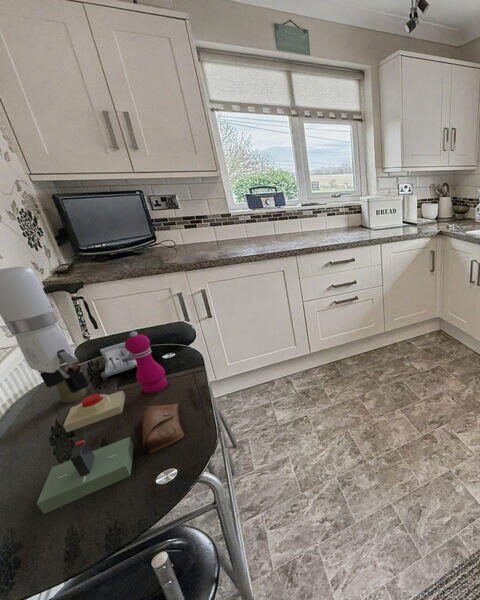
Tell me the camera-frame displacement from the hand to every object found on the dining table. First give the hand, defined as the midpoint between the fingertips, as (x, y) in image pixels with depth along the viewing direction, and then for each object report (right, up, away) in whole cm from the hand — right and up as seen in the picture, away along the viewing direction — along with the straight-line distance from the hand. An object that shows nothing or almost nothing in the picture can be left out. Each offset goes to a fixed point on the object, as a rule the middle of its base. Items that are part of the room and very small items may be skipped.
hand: (68, 386), depth 79 cm
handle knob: (+12, -16, -7) cm, 21 cm away
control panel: (+12, -19, -6) cm, 23 cm away
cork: (-24, -10, +25) cm, 36 cm away
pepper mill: (+2, -7, +26) cm, 28 cm away
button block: (-8, -12, +16) cm, 22 cm away
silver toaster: (-20, -4, +40) cm, 45 cm away
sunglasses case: (+18, -13, +8) cm, 23 cm away
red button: (-8, -9, +15) cm, 19 cm away
